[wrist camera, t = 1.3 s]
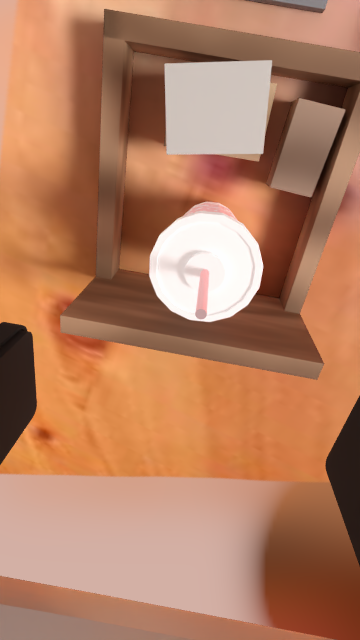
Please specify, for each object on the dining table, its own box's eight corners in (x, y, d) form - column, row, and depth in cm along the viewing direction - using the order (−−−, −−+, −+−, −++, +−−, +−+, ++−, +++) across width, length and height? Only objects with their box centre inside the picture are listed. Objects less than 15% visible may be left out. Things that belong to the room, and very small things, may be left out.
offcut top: (171, 74, 19) (164, 63, 16) (264, 72, 18) (272, 60, 16) (172, 153, 21) (166, 154, 18) (256, 152, 20) (263, 153, 18)
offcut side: (291, 102, 21) (299, 98, 19) (333, 112, 21) (345, 109, 19) (265, 183, 24) (270, 187, 22) (303, 192, 24) (311, 197, 22)
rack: (116, 23, 20) (51, -56, 12) (375, 67, 20) (480, 16, 12) (104, 279, 28) (60, 332, 20) (288, 313, 28) (317, 379, 20)
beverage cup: (261, 248, 26) (302, 343, 13) (193, 282, 28) (173, 393, 15) (227, 173, 24) (237, 206, 11) (154, 216, 25) (96, 284, 13)
